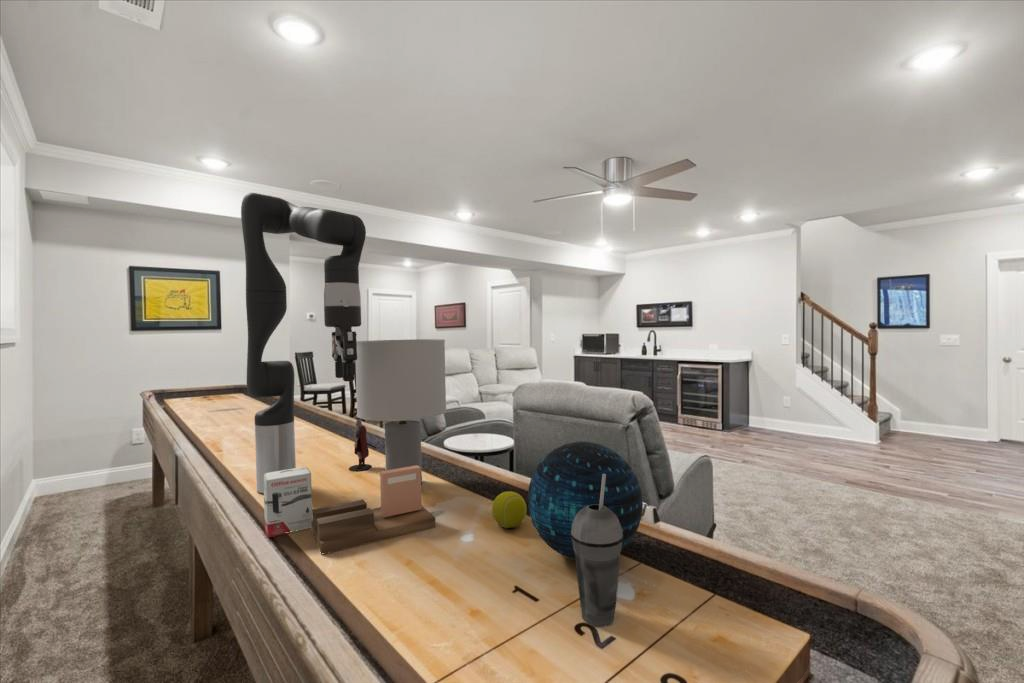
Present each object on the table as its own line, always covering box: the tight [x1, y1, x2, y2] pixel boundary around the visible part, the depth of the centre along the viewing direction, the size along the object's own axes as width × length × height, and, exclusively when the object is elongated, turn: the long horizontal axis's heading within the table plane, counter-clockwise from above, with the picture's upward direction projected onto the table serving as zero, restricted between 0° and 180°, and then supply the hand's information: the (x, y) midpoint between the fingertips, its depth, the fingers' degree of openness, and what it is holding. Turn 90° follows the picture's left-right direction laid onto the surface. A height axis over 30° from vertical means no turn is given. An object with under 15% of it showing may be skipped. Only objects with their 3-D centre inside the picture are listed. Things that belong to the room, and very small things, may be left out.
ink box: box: [263, 466, 313, 539], centre depth 97 cm, size 8×5×12 cm, turn 123°
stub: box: [379, 465, 422, 517], centre depth 99 cm, size 2×8×9 cm, turn 121°
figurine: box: [348, 417, 378, 472], centre depth 140 cm, size 7×7×15 cm
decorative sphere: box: [527, 441, 644, 561], centre depth 83 cm, size 20×20×20 cm
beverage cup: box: [570, 474, 624, 628], centre depth 65 cm, size 7×7×20 cm
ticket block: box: [311, 499, 436, 555], centre depth 96 cm, size 12×22×5 cm, turn 121°
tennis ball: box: [491, 491, 528, 529], centre depth 97 cm, size 7×7×7 cm
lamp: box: [355, 338, 447, 486], centre depth 124 cm, size 23×23×38 cm
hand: (344, 379), depth 103 cm, fingers open, 8 cm apart
